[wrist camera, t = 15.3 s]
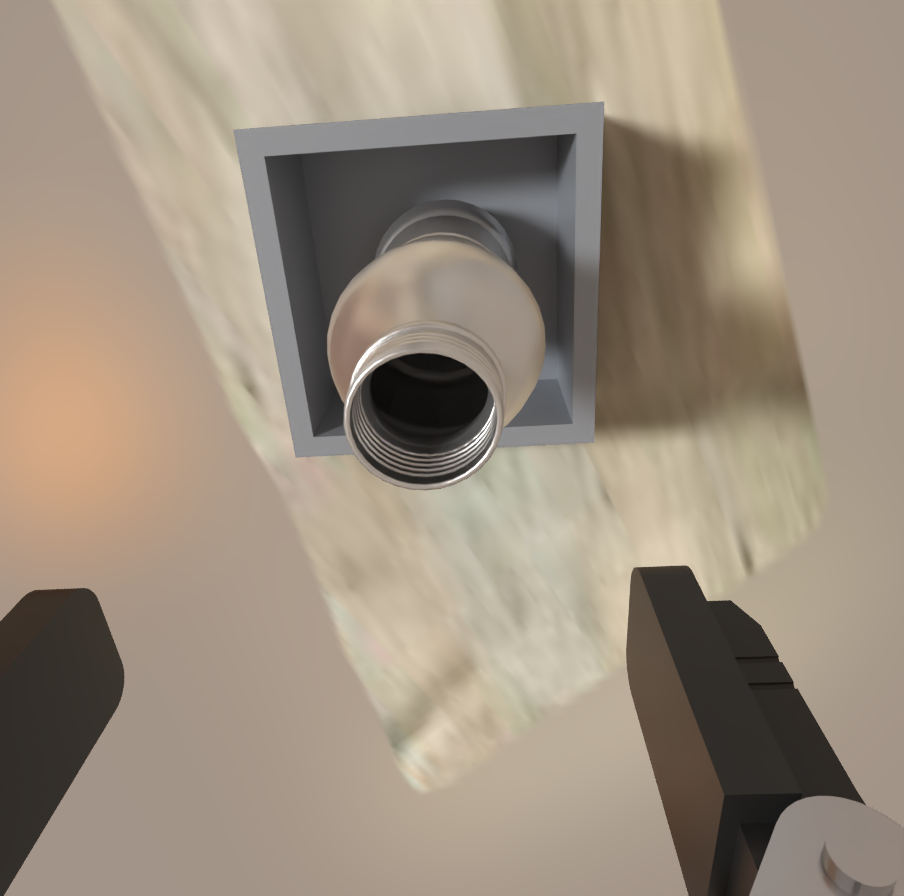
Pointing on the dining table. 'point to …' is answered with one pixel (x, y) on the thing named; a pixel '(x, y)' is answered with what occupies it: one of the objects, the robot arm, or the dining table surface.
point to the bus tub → (397, 191)
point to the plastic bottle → (435, 346)
